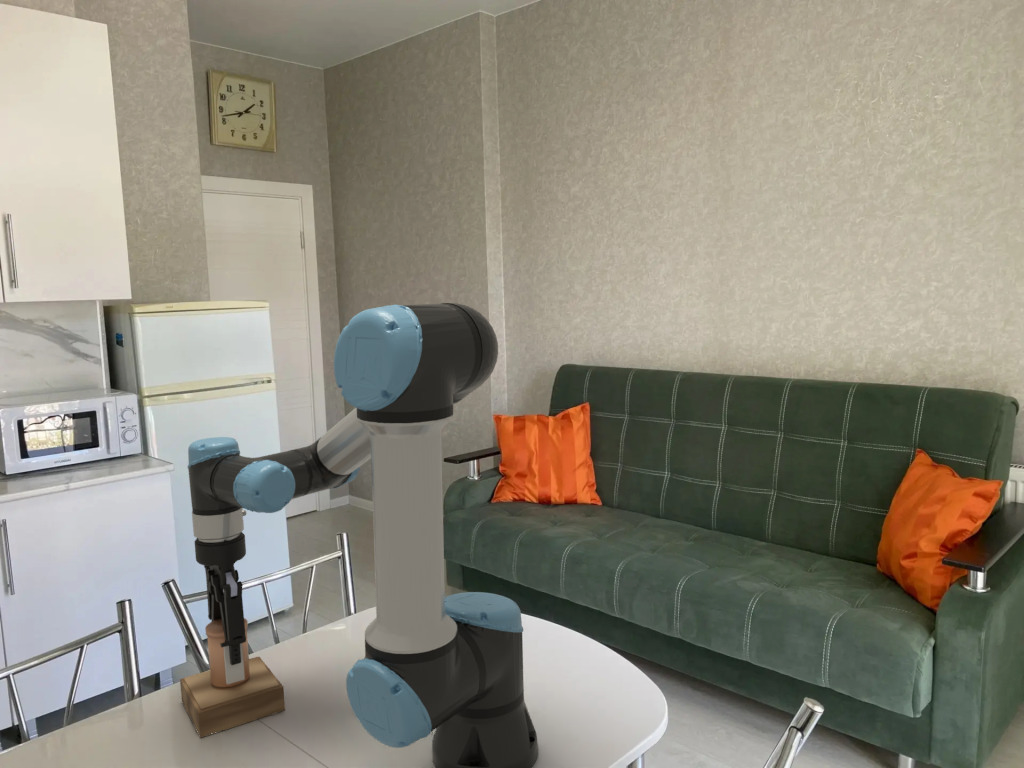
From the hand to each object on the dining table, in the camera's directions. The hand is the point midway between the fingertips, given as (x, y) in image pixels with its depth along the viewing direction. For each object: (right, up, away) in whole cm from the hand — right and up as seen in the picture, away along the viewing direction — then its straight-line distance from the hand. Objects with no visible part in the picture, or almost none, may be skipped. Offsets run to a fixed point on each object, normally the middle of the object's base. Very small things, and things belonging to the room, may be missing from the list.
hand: (229, 672), depth 126 cm
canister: (0, -1, 0) cm, 1 cm away
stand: (0, -6, +1) cm, 6 cm away
